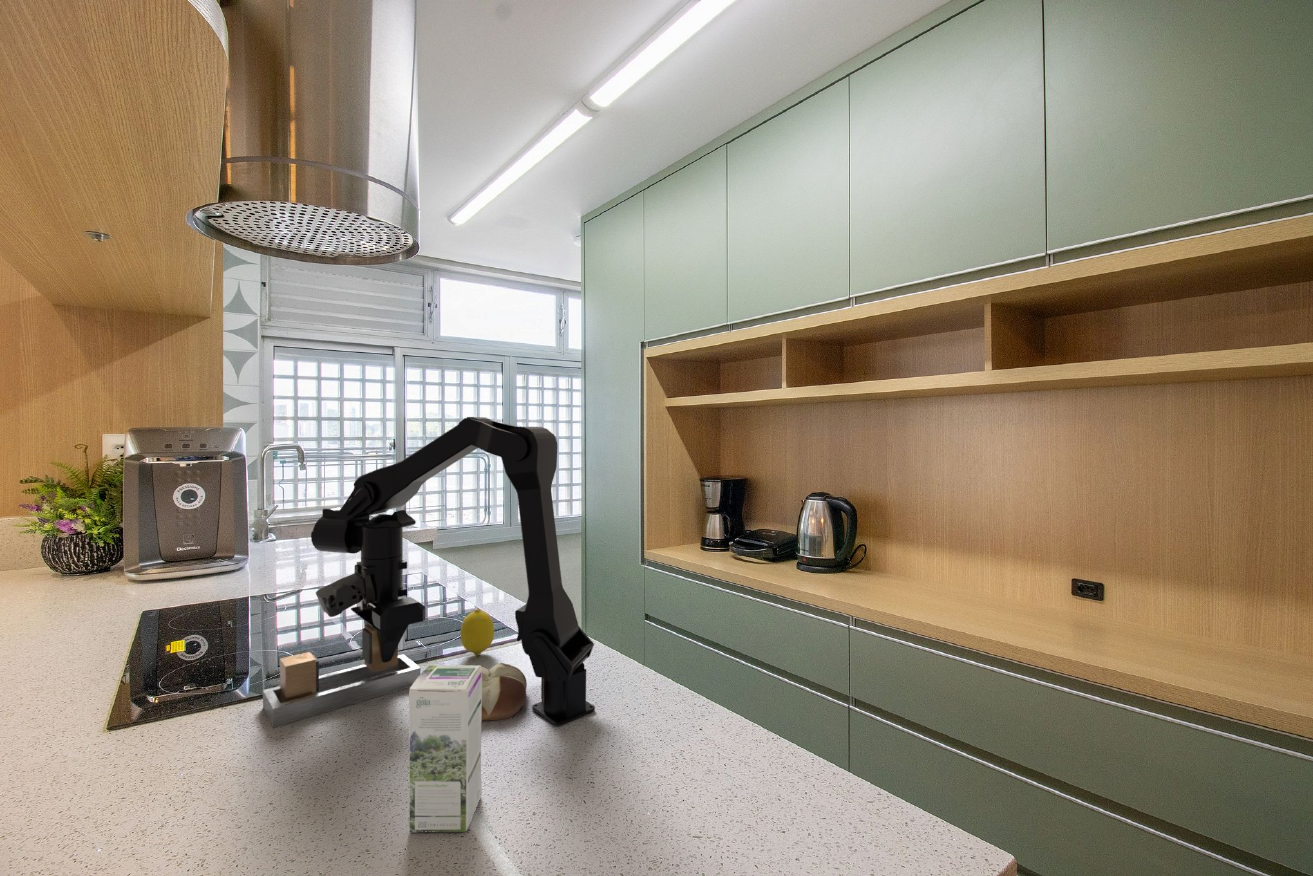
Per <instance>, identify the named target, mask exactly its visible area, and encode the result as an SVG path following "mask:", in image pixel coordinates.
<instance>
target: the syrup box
mask: <svg viewBox="0 0 1313 876" xmlns="http://www.w3.org/2000/svg"><path fill="white" fill-rule="evenodd" d="M408 688H409V690H408V691H409V692H408V694H409V695H408V703H409V704H408V708H409V709H408V713H409V714H408V715H409V716H408V723H409V726H408V727H409V733H408V736H409V737H408V741H409V743H408V749H409V750H408V753H409V754H408V755H409V756H408V760H409V761H408V763H409V764H408V766H409V769H408V770H409V772H408V774H409V775H408V777H409V778H408V779H409V781H408V785H409V786H408V787H409V789H408V793H409V794H408V795H409V797H408V798H409V802H408V805H409V809H408V811H409V818H408V819H409V820H408V821H409V824H408V825H409V827H408V828H409V830H408V831H409V833H433V832H432V831H435V832H434V833H437V832H436V831H439V832H438V833H466V832H467V830H468V828H469V827H470V824H471V822H472V820H473V817H474V815H475V813H476V809H477V808H478V805H479V803H480V801H479V800H481V797H482V720H481V714H482V665H429V666H427V667H426V668H425V669H424V670H423V671H422V672H420V675H419V677H418V678H417V679H416V681H415V682H414V683H413V685H412V686H411V687H408ZM478 802H479V803H478ZM476 807H477V808H476ZM474 812H475V813H474ZM473 814H474V815H473ZM471 819H472V820H471ZM422 831H423V832H422ZM425 831H427V832H425ZM429 831H431V832H429ZM441 831H443V832H441ZM445 831H446V832H445ZM450 831H451V832H450ZM465 831H466V832H465Z"/></svg>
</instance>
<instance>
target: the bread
mask: <svg viewBox="0 0 1313 876" xmlns="http://www.w3.org/2000/svg"><path fill="white" fill-rule="evenodd" d="M481 667H482V666H481ZM527 684H528V683H527V678H526V675H525V674H524V673H523V672H522V670H521V669H520V668H519V667H516V666H514V665H511V664H508V663H504V662H499V663H497V664H496V665H494V666H492V668H490V669H487V668H485V667H484V666H483V667H482V714H481V721H498V720H505V719H508V718H511V717H513V716H514V715H515V714H517V713H518V712H519V711H520V709H521V708H522V707H523V705H524V703H525V702H526V698H527V686H528V685H527Z"/></svg>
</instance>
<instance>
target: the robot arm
mask: <svg viewBox="0 0 1313 876" xmlns="http://www.w3.org/2000/svg"><path fill="white" fill-rule="evenodd" d="M477 449H480V450H482V451H483V452H486V453H488V454H490V455H494V456H496V457H499V458H501V463H502V465H503V468H504V469H503V470H504V472H505V475H506V477H507V478H508V480H509V482H510V483H511V485H512V486H513V488H514V490H515V492H516V497H517V504H518V511H519V512H518V513H519V520H520V528H521V537H522V545H523V546H522V547H523V555H524V556H523V557H524V565H525V572H526V581H527V591H528V592H527V593H528V595H527V601H526V604H524V605H523V606H521V607H518V608H517V609H516V610H515V612H514V614H515V616H514V618H515V622H516V625H517V638H516V641H517V642H520V641H521V647H522V650H523V652H524V654H526V655H528V657H529V660H530V664H531V666H532V670H533V672H534V675H535V677H536V678H541V679H540V680H541V682H540V683H541V684H540V685H541V686H540V687H541V690H540V691H541V692H540V693H541V694H540V697H541V701H540V702H539V701H538V702H537V703H534V704H532V705H531V708H532V710H533V711H534V712H535V713H537V714H538V715H540V716H541V717H543V718H544V719H546V720H547V721H549V722H550V723H551V724H553V725H554V726H557V727H558V726H561V725H564V724H567V723H569V722H570V721H573V720H576V719H578V718H582V717H583V716H585V715H588V714H590V713H593V712H594V711H596V706H595V705H593V704H592V703H590V702H589V701H587V669H586V668H585V663H584V662H585V661H586V660H587V659H589V657H590V656H591V654H592V652H593V648H594V646H595V644H594V642H593V641H592V639H591V638H590V637H589V636H588V635H587V634H586V633H585V632H584V631H583V629H582V628H581V627H580V626H579V623H578V617H577V614H576V611H575V608H574V604H573V602H572V600H571V599H570V597H569V595H568V594H567V592H566V590H565V589H564V586H563V582H562V580H563V579H562V573H561V572H562V571H561V563H560V554H559V546H558V538H557V528H556V521H555V519H556V518H555V512H554V504H553V495H552V485H553V481H554V478H555V475H556V469H557V466H558V465H557V464H558V441H557V438H556V436H555V434H554V433H553V432H551V431H550V430H549V429H548V428H545V427H543V426H516V425H512V424H507V423H503V422H498V421H496V420H492V419H490V418H488V417H484V416H482V417H481V416H467V417H465V418H463V419H461V421H459V422H458V424H456V425H455V426H454V427H452V428H451V429H449V430H447V431H446V432H444V433H443V434H440V436H438V437H437V438H435V439H434V440H432V441H430V442H429V443H427V444H426V445H424V446H422V447H421V448H419V449H418V450H417V451H415V452H414V453H412V454H410V455H409V456H408V457H406V458H404V459H403V460H401V461H399V462H397V463H394V464H390V465H387V466H384V467H379V468H378V469H375V470H373V471H369V472H367V473H365V474H362V475H360V476H358V478H356V479H355V481H354V483H353V487H354V488H353V490H352V491H351V493H350V495H349V496H348V497H347V499H346V500H345V503H344V504H343V505H342V507H338V506H335V507H334V506H332V507H326V508H322V516H321V517H320V518H319V519H317V521H316V523H315V524H314V526H313V529H312V531H311V532H310V533H311V534H310V539H311V543H312V546H313V548H314V549H316V550H317V551H319V552H324V553H325V552H327V553H340V554H343V553H344V554H354V555H355V554H358V553H360V561H356V564H354V573H351V574H350V575H347V576H344V577H342V578H340V579H337V580H336V581H333V582H331V583H330V584H327V585H325V586H323V587H322V588H319V589H318V590H317V591H315V595H316V596H317V601H319V603H320V606H321V608H322V611H323V613H325V614H327V616H328V617H330V618H334V617H337V616H339V615H340V614H342V613H343V612H345V610H347V609H349V608H350V611H352V612H353V613H354V614H356V616H358V617H360V618H361V619H362V620H363V622H364V626H365V625H368V624H369V625H371V626H372V627H373V628H375V629H376V630H377V635H378V641H379V647H380V653H381V658H382V662H384V663H385V662H389V661H391V659H392V657H393V655H394V653H395V651H396V649H397V647H398V648H399V645H400V642H401V640H402V638H403V636H404V634H405V632H406V630H407V629H408V627H409V625H413V624H418V623H421V622H424V621H426V606H424V605H423V603H421V602H419V601H418V600H416V599H415V598H413V597H412V596H408V588H406V587H405V586H403V585H404V584H403V583H404V582H403V580H404V579H403V578H404V577H403V570H407V569H408V561H406V560H404V557H403V552H404V549H403V534H404V533H403V529H404V528H407V527H411V526H414V525H416V523H417V522H416V521H417V520H415V519H414V518H413V517H412V516H411V515H409V514H408V513H407V511H406V510H405V509H401V510H397V511H396V510H395V511H393V513H392V514H384V513H386V512H388V511H389V510H393V509H398V508H401V507H404V506H405V505H406V504H407V503H408V502H409V501H410V500H411V499H412V498H413V497H415V496H416V495H417V494H418V493H419V491H420V489H421V487H422V486H423V485H424V483H426V482H427V481H428V480H430V479H431V478H433V477H434V476H436V475H437V474H439V473H440V472H442V471H444V470H445V469H447V468H449V467H450V466H452V465H454V464H455V463H456V462H459V461H460V460H462V459H463V458H464V457H466V456H468V455H469V454H471V453H473V452H474V451H475V450H477ZM374 515H375V516H374ZM370 516H373V517H372V518H370ZM405 596H408V597H405ZM401 597H403V598H401ZM355 605H356V606H355Z"/></svg>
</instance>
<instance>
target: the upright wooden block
mask: <svg viewBox="0 0 1313 876" xmlns="http://www.w3.org/2000/svg"><path fill="white" fill-rule="evenodd" d="M361 633H362V634H361V637H362V638H361V640H362V641H361V645H362V646H361V647H362V649H361V650H362V651H361V654H362V655H361V657H362V659H363V660H364V664H365V665H366V666H367V667H368V668H369V669H370V670H371V671H372V672H374V671H378V670H381V669H385V668H389V667H393V666H396V665H398V655H399V646H398V647H397V649H396V651H395V653H394V655H393V657H392V659H391V661H389V662H385V663H384V662H382V658H381V653H380V647H379V641H378V635H377V630H376V629H375V628H373V627H372V626H371V625H369V624H368V625H365V624H364V628H362V631H361Z"/></svg>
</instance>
